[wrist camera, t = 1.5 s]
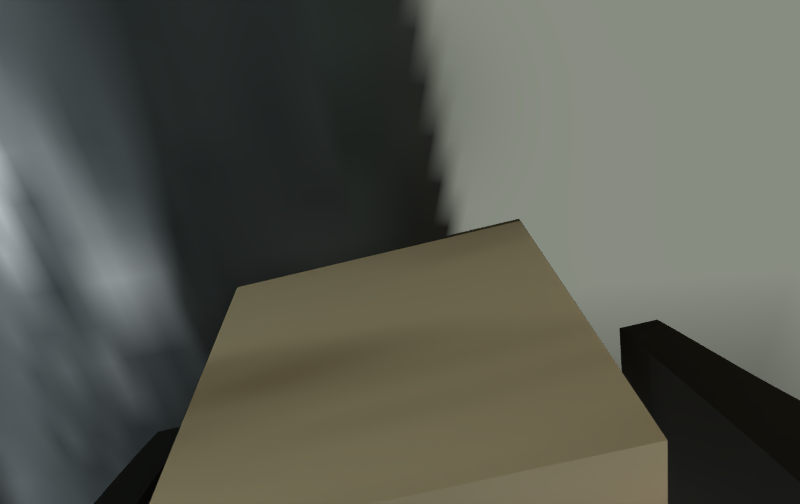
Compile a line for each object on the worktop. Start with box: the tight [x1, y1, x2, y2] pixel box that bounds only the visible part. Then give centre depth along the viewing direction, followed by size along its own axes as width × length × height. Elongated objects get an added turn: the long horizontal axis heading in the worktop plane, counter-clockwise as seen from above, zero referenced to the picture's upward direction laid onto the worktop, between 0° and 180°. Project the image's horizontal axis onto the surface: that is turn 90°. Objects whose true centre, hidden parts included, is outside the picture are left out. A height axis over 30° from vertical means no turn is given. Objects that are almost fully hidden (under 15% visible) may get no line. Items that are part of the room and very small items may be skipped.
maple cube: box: [149, 219, 668, 504], centre depth 8 cm, size 5×5×5 cm
